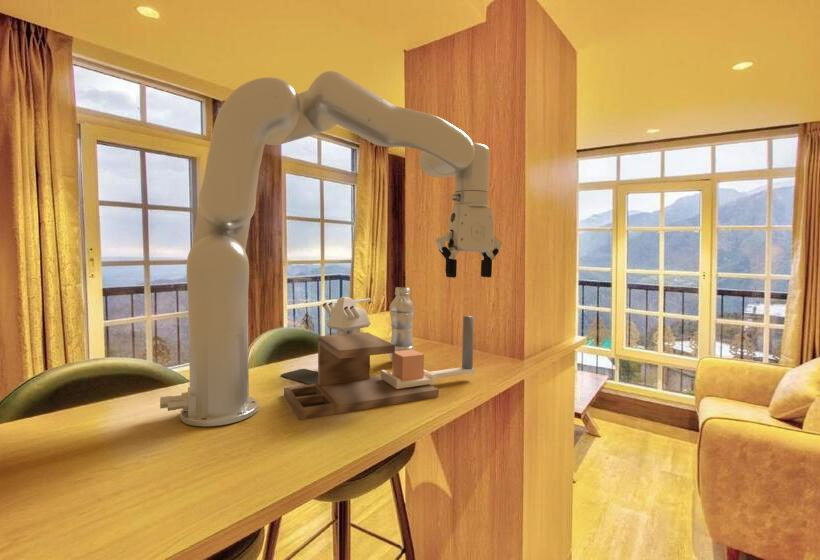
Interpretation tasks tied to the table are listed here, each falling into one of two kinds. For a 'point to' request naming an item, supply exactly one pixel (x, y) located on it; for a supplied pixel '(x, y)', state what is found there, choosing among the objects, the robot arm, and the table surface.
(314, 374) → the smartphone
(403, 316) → the plastic bottle
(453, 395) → the table surface
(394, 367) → the block
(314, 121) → the robot arm
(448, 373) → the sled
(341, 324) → the white mech figurine
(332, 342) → the desk organizer
